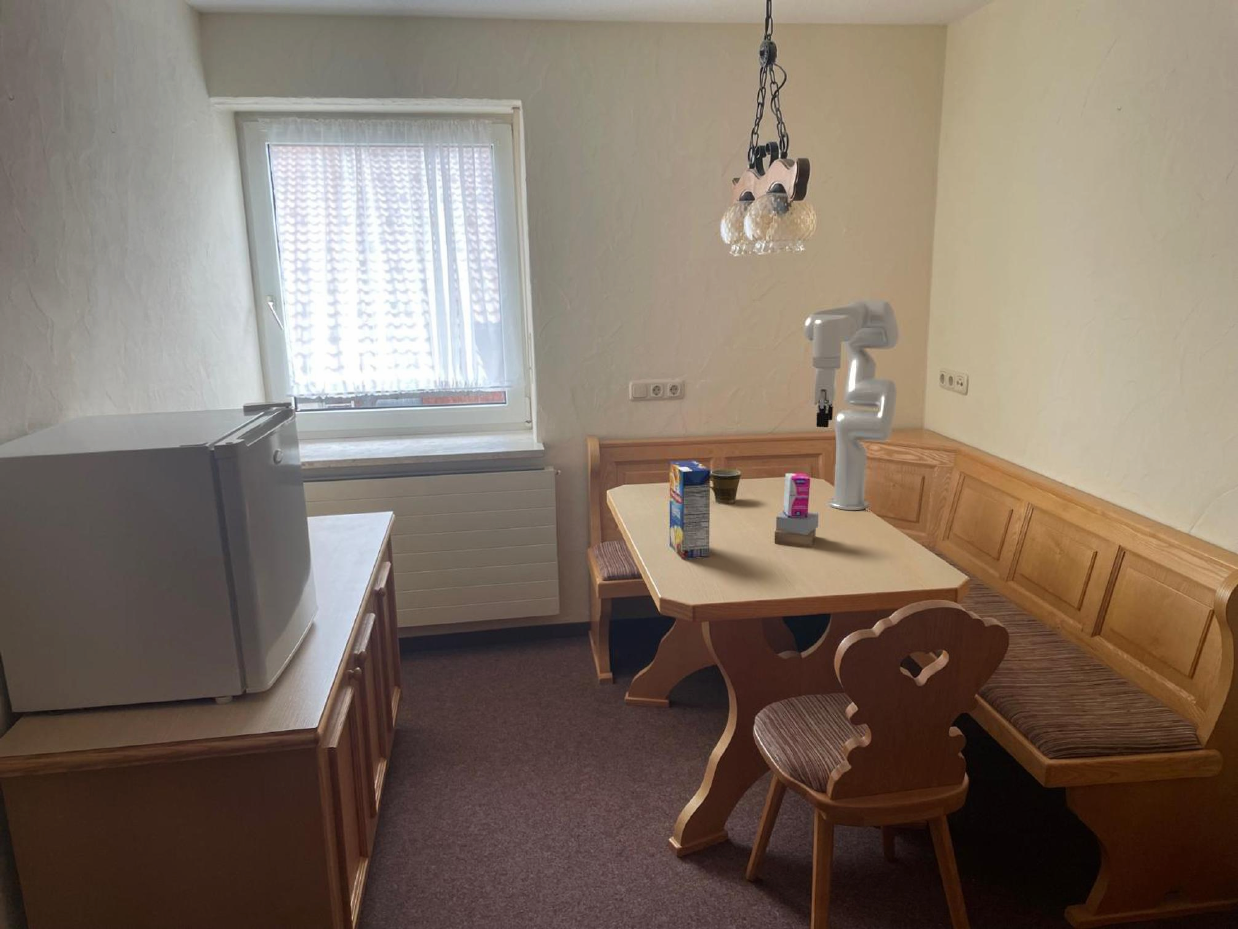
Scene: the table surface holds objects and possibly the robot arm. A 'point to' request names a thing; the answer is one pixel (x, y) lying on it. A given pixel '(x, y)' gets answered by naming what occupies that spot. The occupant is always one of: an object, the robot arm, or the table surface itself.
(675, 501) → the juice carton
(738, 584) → the table surface
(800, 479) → the supplement box
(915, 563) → the table surface
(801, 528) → the tower top slab
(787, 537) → the tower base slab
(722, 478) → the ceramic cup
